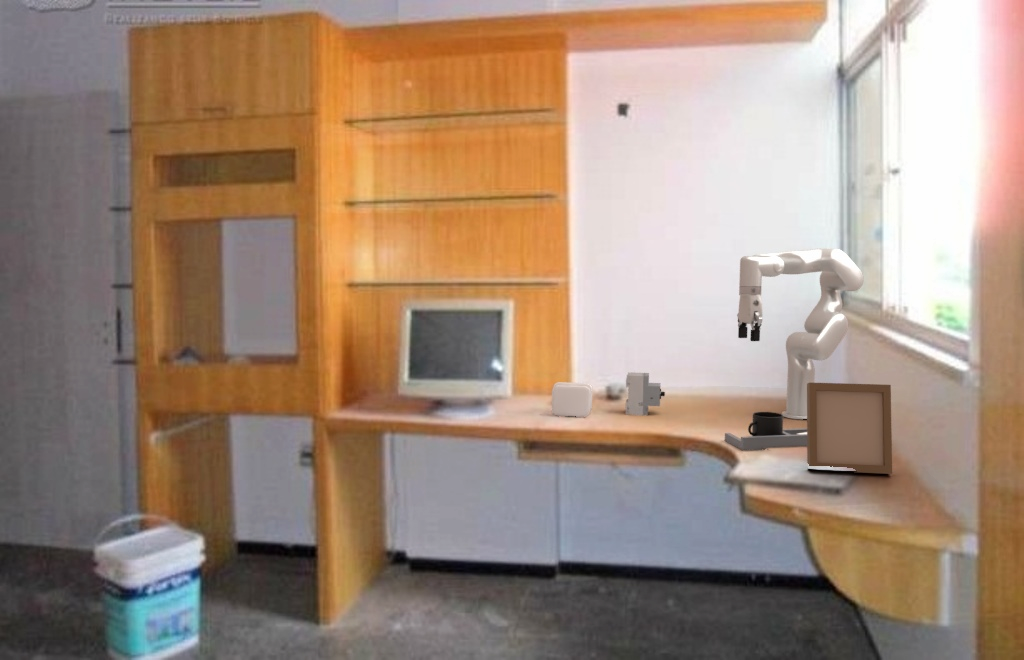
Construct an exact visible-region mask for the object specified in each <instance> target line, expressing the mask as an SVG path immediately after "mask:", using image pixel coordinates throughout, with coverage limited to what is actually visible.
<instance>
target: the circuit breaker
mask: <svg viewBox="0 0 1024 660" xmlns="http://www.w3.org/2000/svg"><path fill="white" fill-rule="evenodd" d="M625 379H626V380H625V387H626V388H627V389H628V391H627V399H626V401H625V414H630V415H629V416H643V415H647V416H648V415H649V407H660V406H661V400H662V397H665V393H666V391H662V388H661V383H660V382H650V373H649V372H627V374H626V377H625ZM631 414H633V415H631Z"/></svg>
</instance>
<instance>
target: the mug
mask: <svg viewBox="0 0 1024 660" xmlns="http://www.w3.org/2000/svg"><path fill="white" fill-rule="evenodd" d="M783 429H784V416H783V415H782V413H779V412H774V411H773V412H772V411H757V412H753V413H752V422H750V423H749V424H748V427H747V430H748V431H747V432H748V433H749V435H750V436H773V435H782V434H783Z"/></svg>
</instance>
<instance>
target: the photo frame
mask: <svg viewBox="0 0 1024 660" xmlns="http://www.w3.org/2000/svg"><path fill="white" fill-rule="evenodd" d="M891 386H892V385H891V384H876V383H875V384H874V383H871V384H870V383H843V382H842V383H841V382H840V383H838V382H837V383H836V382H834V383H833V382H814V383H808V384H807V420H806V428H807V446H806V450H807V451H806V456H807V457H806V458H807V459H806V460H807V461H806V464H807V463H808V464H809V466H830V467H832V466H833V467H847V468H853V469H855V470H856V471H857V472H856V473H863V474H865V473H866V474H885V475H887V474H888V475H890V474H891V475H893V447H892V446H893V444H892V440H893V439H892V437H893V436H892V435H893V434H892V394H891V393H892V387H891Z"/></svg>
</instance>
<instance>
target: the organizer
mask: <svg viewBox="0 0 1024 660" xmlns="http://www.w3.org/2000/svg"><path fill="white" fill-rule="evenodd" d="M804 432H807V427H805V428H803V427H802V428H783V434H782V435H773V436H752V435H749V436H741V437H738V436H737V435H734V434H732V433H731V432H725V433H724V441H725V442H727V443H728V444H730V445H732V446H734V447H736V448H737V447H738V448H737V449H739V448H740V449H739V450H741V451H743V450H744V451H759V450H760V451H762V449H769V448H771V449H773V448H795V447H807V434H798V433H804ZM796 434H798V435H796Z"/></svg>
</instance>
